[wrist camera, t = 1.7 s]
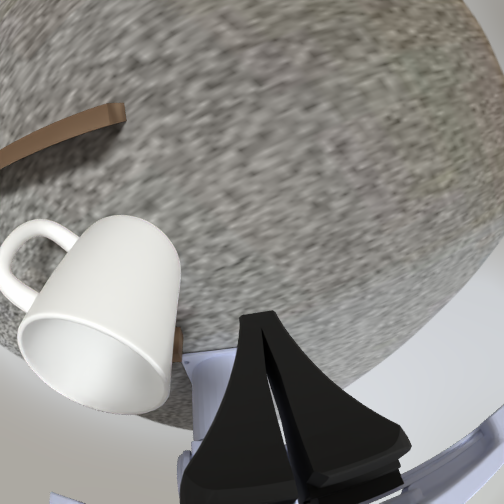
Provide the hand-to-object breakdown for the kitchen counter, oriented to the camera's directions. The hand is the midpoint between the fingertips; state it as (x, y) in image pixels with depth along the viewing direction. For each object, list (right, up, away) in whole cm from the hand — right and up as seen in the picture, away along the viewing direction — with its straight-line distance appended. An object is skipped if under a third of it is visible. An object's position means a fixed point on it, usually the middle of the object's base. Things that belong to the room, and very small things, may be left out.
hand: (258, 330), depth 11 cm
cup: (-11, +3, +7) cm, 14 cm away
